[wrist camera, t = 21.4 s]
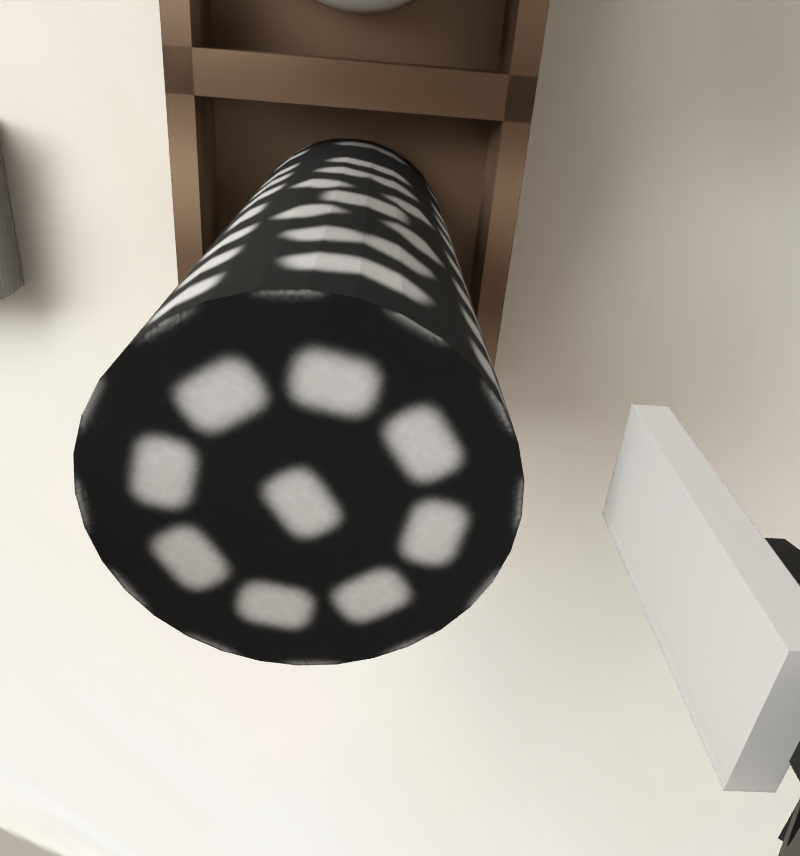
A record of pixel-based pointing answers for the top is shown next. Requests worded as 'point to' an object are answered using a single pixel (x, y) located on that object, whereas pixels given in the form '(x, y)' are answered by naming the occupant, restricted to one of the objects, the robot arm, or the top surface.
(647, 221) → the top surface
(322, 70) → the divided wooden tray
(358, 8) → the seated billet
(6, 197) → the button housing
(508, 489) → the spotted tube
